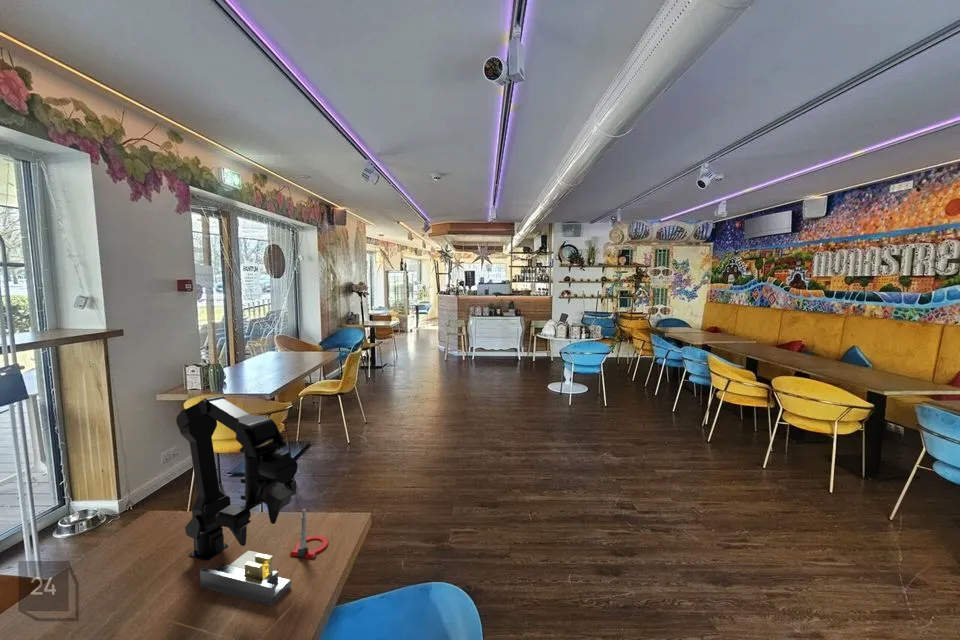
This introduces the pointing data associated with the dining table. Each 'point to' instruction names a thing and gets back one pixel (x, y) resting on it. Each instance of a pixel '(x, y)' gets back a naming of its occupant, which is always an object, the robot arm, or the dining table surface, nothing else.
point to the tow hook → (301, 547)
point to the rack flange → (244, 584)
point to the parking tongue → (245, 559)
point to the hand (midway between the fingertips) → (258, 533)
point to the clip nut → (259, 567)
